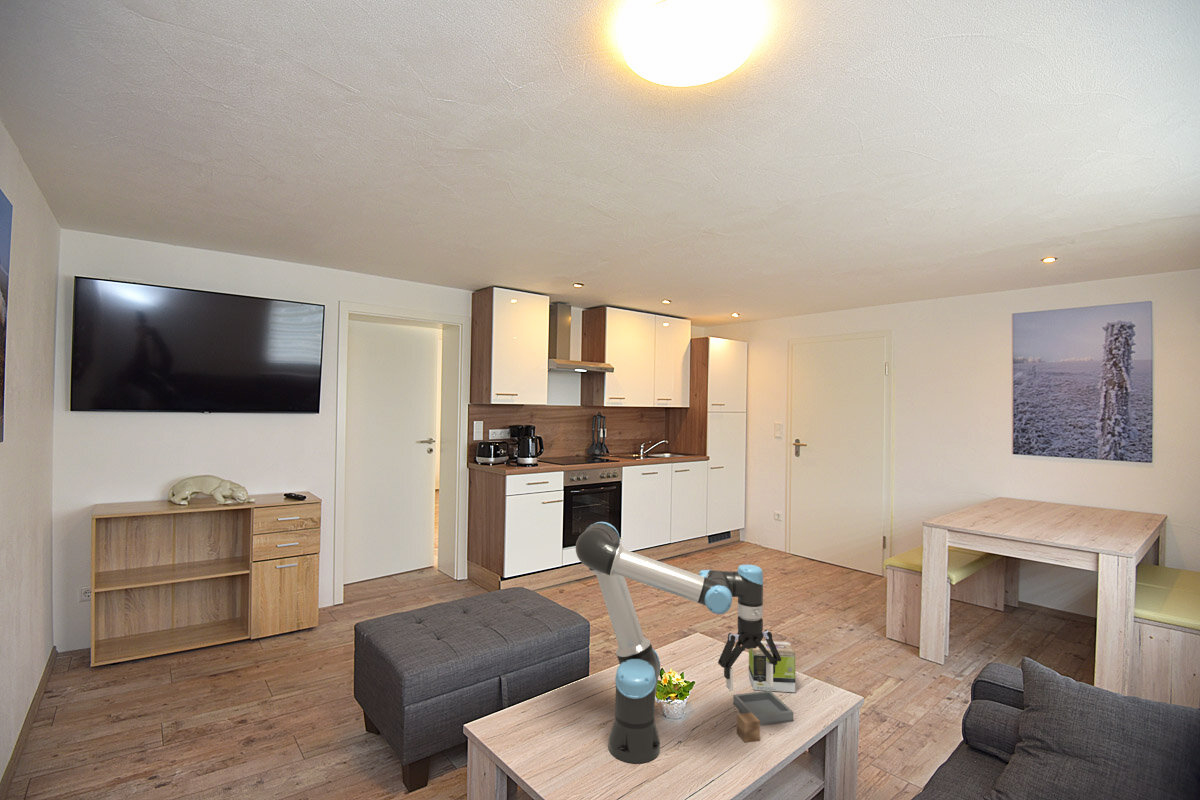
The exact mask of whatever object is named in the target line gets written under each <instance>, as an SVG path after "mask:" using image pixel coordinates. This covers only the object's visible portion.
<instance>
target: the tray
mask: <svg viewBox="0 0 1200 800" xmlns="http://www.w3.org/2000/svg"><path fill="white" fill-rule="evenodd" d="M732 703H733V705H734V707H736V708H737V710H738V711H740V712H741V714H743V713H751V712H752V713H753V714H754V716H755V717H756V718H757V719H758V720H759V721H760V726H766V725H774V724H782V723H790V722H794V711H793V709H791V708H790V707H789V706H787V704H785V703H784V702H783V701H782V700H781V699H780V698H779V697H778V696H776V694H774V693H773V691H763V690H762V691H755V692H746V693H737V694H733V702H732Z"/></svg>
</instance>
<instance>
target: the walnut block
mask: <svg viewBox="0 0 1200 800" xmlns="http://www.w3.org/2000/svg"><path fill="white" fill-rule="evenodd" d="M760 729H761V725H760V721H759V720H758V719H757V718H756V717H755V716H754V714H753V713H752V712H751V713H743V714H742V713H737V714H736V735H738V737H739V738H740V739H741V740H742V742H743V743H755V742H760V739H761V737H760V736H761V735H760V732H761V730H760Z"/></svg>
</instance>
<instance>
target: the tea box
mask: <svg viewBox="0 0 1200 800" xmlns="http://www.w3.org/2000/svg"><path fill="white" fill-rule="evenodd" d="M773 642H774V644H775V646H776V648H777V650H778V653H779V655H780V657H781V661H778V662H777V665H775V674H773V686H770V685H769V684H768V683H766V661H769V660H768V658H767V657H766V656H765V655H764V654H763V652H762V651H761V650H760V649H759V647H758V646H757V647H756V648H750V649H748V677H749V680H750V683H751V686H752V689H753V690H754V691H762V692H763V691H771V692H780V693H781V692H783V693H796V692H797V691H796V685H797V683H796V682H797V681H796V651H795V650H794V648H793V646H792V645H791V643H790V641H787V640H786V641H785V640H773ZM761 643H762V644H763V645H764V647H765V648H766V649H767V651H768V652H769V653H770V654H771V656H772V657H773V654H772V652H771V650H770V648H769V646H768V643H767V641H766V639H764V640H763V639H762V640H761Z"/></svg>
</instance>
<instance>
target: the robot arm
mask: <svg viewBox="0 0 1200 800" xmlns="http://www.w3.org/2000/svg"><path fill="white" fill-rule="evenodd" d="M620 542H621V539H620V533H619V532H618V530H617V529H616V527H615V526H614V525H612V524H611V523H609V522H606V521H597V522H595V523H593V524H590V525H589V526H587V527H586V529H585V530H584V531H583V532H581V534H580V535H579V536H578V538H577V540H576V543H575V554H576V557H577V559H578V560H579V561H580V562H581V564H583V565H584V566H585V567H587V568H588V569H589V571H590V572H591V573H593V574H595V576H596V579H597V582H598V585H599V588H600V591H601V595H602V598H603V601H604V604H605V607H606V610H607V614H608V616H609V620H610V623H611V626H612V629H613V632H614V635H615V638H616V642H617V645H618V647H617V649H616V652H615V654H616V657H617V661H618V664H619V665H618V667H617V668H616V672H615V673H616V674H615V678H614V679H615V703H614V704H615V711H614V713H615V715H614V721H613V724H612V726H611V727H612V728H611V731H610V733H609V737H608V750H609V752H610V754H611V755H612V756H614V757H615V758H616V759H618V760H620V761H623V762H626V763H630V764H643V763H648V762H650V761H653V760H654V759H656V758H657V756H659V754H660V751H661V740H660V736H659V732H658V730H657V726H656V723H655V713H656V712H655V711H656V709H655V708H656V691H657V686H658V680H659V677H660V673H661V661H660V658H659V655H658V653H657V652H656V650H655V649H654V648H653V646H652V642H651V640H650V639H649V638H647V637H645V636H644V633H643V629H642V626H641V623H640V620H639V617H638V614H637V611H636V608H635V605H634V603H633V599H632V596H631V592H630V590H629V587H628V583H627V580H626V579H630V580H632V581H635V582H638V583H640V584H643V585H645V586H649V587H651V588H655V589H658V590H661V591H663V592H666V593H669V594H671V595H675V596H678V597H680V598H683V599H686V600H687V601H691V602H694V603H698V604H699V605H702V606H706V608H707V609H708V610H709V612H711V613H713V614H715V615H723V614H726V613H727V612H728V611H729V610H730V609H731V608H732V602H733V598H737V615H738V616H737V634H736V633H735V634H733V633H732V632H729V633H728V634H727V640H726V643H725V646H724V647H723V650H722V652H721V655H720V657H719V659H718V661H717V663H718V665H719V666H720V667H721V668H723V677H724V678H725V679H726V680H725V681H726V685H725V686H726V688H727V689H728V690H729V692H733V691H734V669H733V667H732V666H733V665H734V664H735V663H736V661H737V660H738V658H739V657H740V655H741V654H742V652H744V651H746V650H749V649H750V648H756V647H757V646H758V647H759V649H760V650H761V651H762V652H763V654H764V655H765V656H766V657H767V658H768V660H769V661H766V683H768V684H769V685H770V686H773V674H775V665H777V662H778V661H781V657H780V655H779V653H778V650H777V648H776V646H775V644H774V642H773V641H774V640H773V633H772V632H771V631H770V630H768V629H764V619H763V617H764V616H763V615H764V605H763V604H764V573H763V572H764V571H763V569H762V568H761V567H759V566H758V565H755V564H748V563H747V564H741V565H740V564H739V566H738V567H737V571H727V570H714V569H701V570H700V571H699V574H697V573H693V572H691V571H688V570H685V569H683V568H680V567H677V566H673V565H671V564H668V563H665V562H662V561H659V560H658V559H657V560H656V559H653V558H651V557H647V556H645V555H642V554H639V553H636V552H635V551H634V552H633V551H630V550H628V549H624V547H623V546H622V544H621V543H620ZM763 630H764V631H763ZM763 639H764V640H766V641H767V643H768V646H769V648H770V650H771V652H772V654H773V657H772V656H771V654H770V653H769V652H768V651H767V649H766V648H765V647H764V645H763V644H762V643H761V640H763Z"/></svg>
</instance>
